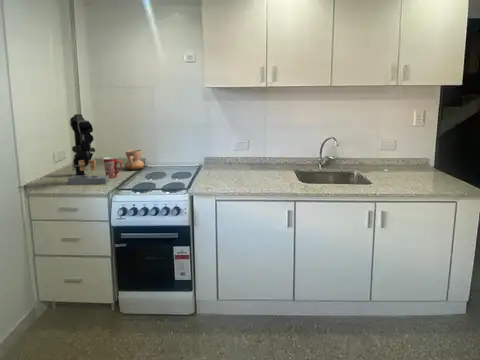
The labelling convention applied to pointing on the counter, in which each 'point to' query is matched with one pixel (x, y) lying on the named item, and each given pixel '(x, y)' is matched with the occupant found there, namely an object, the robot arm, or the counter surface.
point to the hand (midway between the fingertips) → (87, 165)
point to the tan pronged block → (91, 163)
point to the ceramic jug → (134, 160)
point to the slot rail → (88, 180)
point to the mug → (111, 166)
